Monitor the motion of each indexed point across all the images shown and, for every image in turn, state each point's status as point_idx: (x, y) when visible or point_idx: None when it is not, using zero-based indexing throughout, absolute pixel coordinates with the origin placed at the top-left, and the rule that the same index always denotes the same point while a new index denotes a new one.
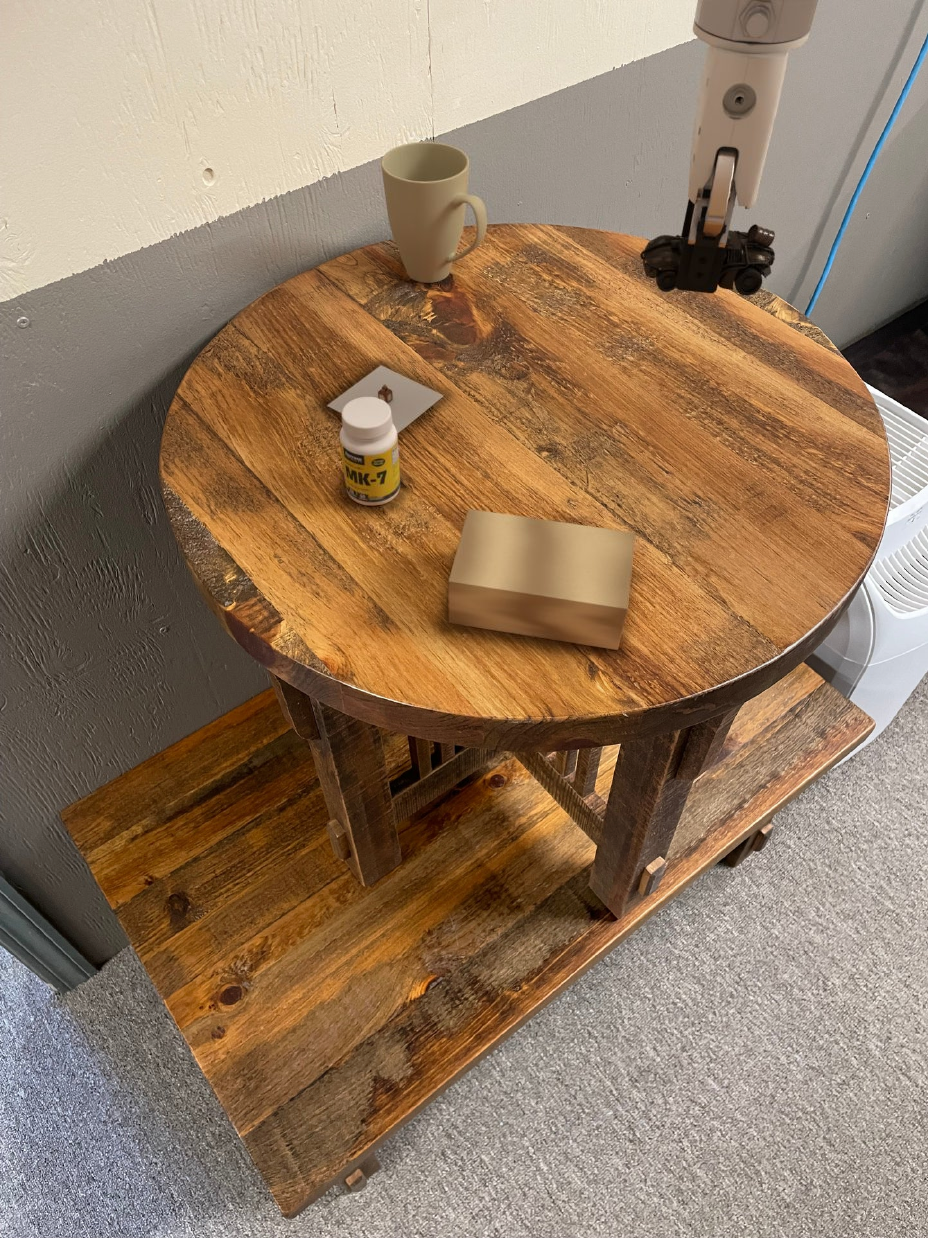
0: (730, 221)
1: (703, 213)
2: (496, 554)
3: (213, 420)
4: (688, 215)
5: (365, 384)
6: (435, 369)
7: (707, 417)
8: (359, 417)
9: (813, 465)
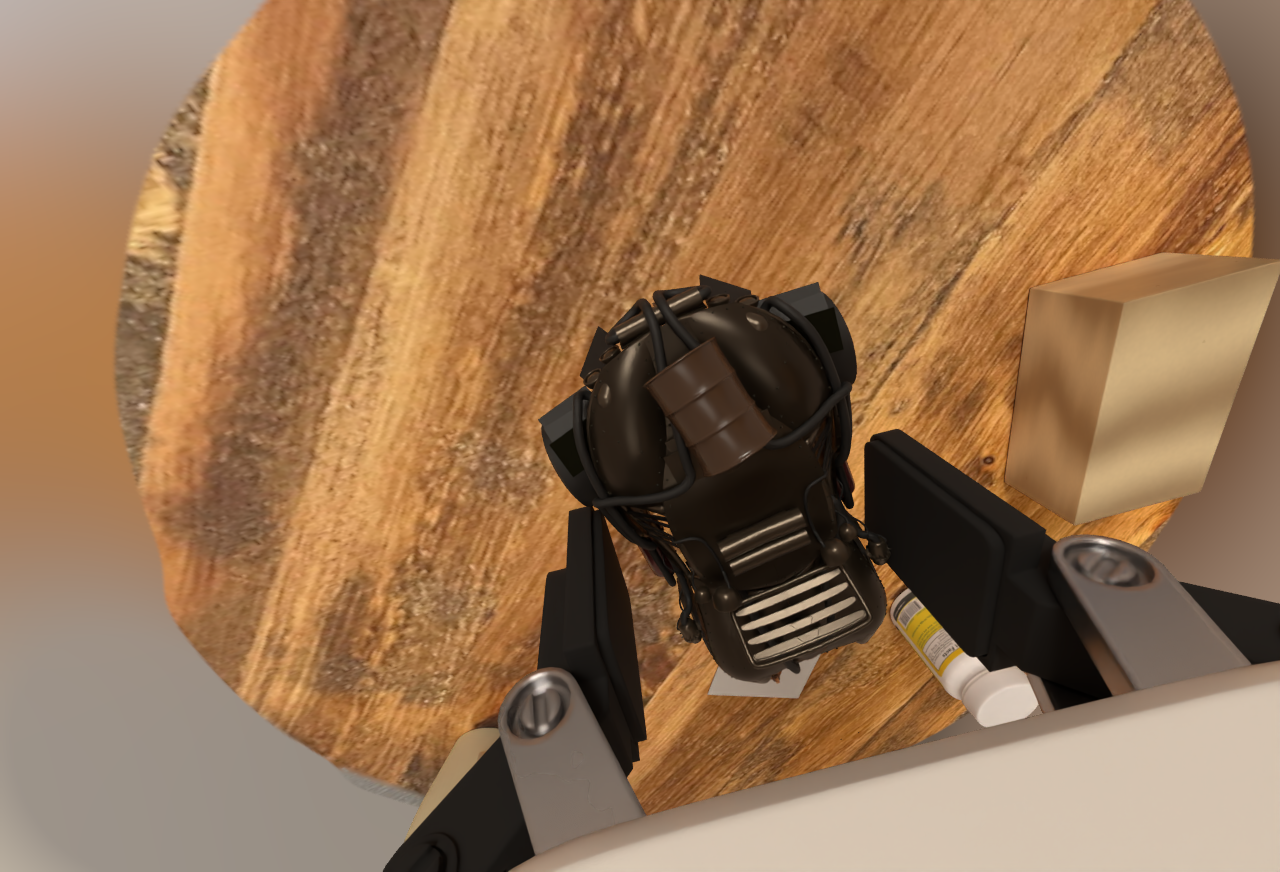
0: (1226, 640)
1: (628, 654)
2: (1159, 463)
3: (850, 751)
4: (638, 678)
5: (748, 689)
6: (688, 649)
7: (627, 277)
8: (1022, 707)
9: (686, 7)
